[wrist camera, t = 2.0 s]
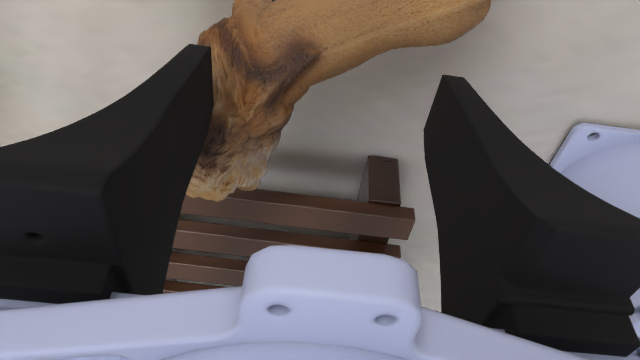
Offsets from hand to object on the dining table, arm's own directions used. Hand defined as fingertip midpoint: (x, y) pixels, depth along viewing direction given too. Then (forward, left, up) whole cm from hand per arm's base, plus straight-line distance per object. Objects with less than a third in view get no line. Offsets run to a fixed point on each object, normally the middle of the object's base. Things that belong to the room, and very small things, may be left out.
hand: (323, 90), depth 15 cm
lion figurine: (0, 0, -8) cm, 8 cm away
